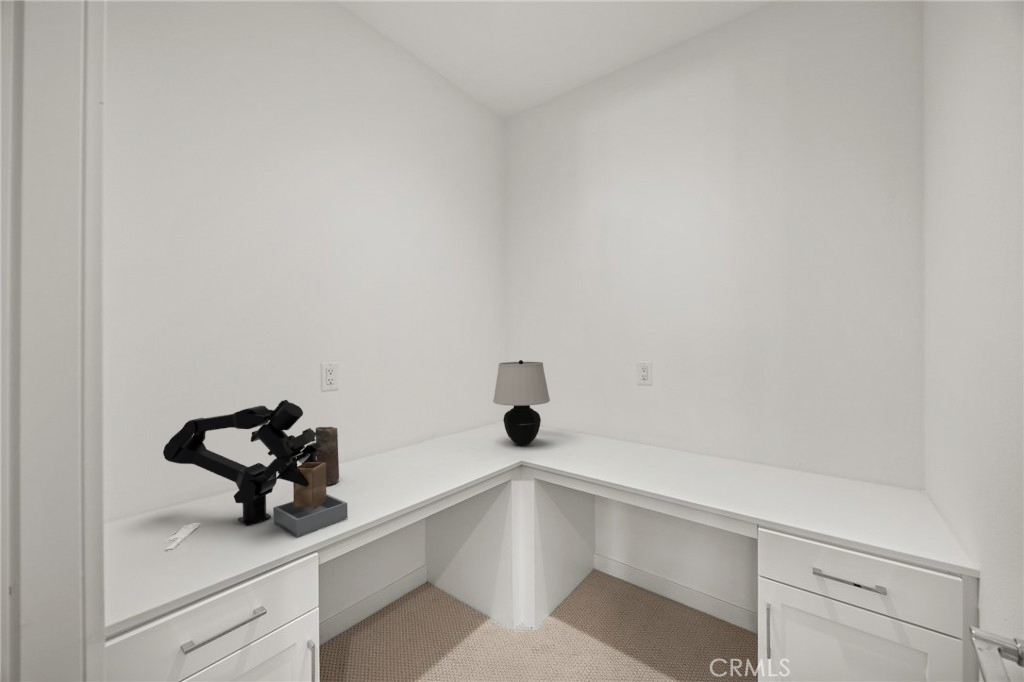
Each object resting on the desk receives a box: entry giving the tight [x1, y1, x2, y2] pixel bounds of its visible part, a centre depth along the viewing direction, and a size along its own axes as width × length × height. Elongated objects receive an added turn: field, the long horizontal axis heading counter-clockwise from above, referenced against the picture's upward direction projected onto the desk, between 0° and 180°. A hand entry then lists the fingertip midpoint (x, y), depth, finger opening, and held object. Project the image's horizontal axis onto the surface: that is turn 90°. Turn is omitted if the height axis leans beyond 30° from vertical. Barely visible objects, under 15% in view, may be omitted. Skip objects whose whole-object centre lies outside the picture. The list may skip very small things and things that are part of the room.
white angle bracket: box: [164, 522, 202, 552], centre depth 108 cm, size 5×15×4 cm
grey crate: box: [272, 493, 349, 539], centre depth 117 cm, size 14×14×4 cm
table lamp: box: [492, 359, 551, 446], centre depth 197 cm, size 27×27×40 cm
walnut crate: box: [292, 462, 327, 509], centre depth 117 cm, size 6×6×11 cm
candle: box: [315, 426, 340, 487], centre depth 148 cm, size 8×7×20 cm
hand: (314, 481), depth 117 cm, fingers closed on walnut crate, 6 cm apart
